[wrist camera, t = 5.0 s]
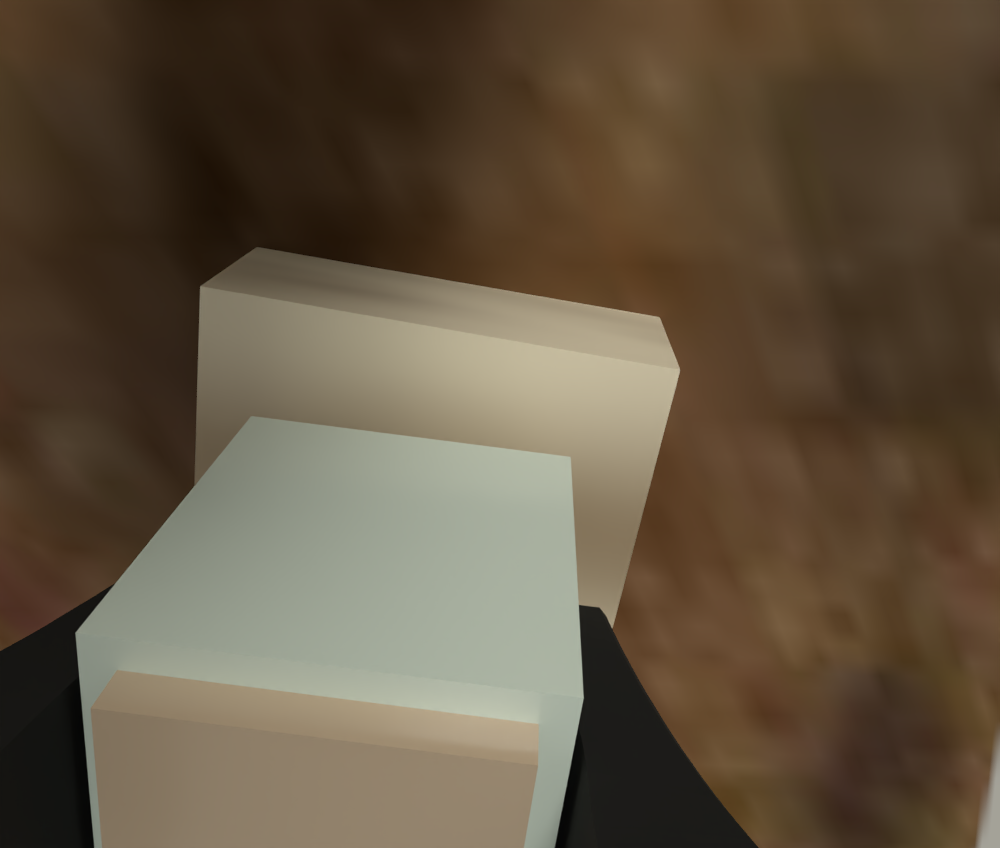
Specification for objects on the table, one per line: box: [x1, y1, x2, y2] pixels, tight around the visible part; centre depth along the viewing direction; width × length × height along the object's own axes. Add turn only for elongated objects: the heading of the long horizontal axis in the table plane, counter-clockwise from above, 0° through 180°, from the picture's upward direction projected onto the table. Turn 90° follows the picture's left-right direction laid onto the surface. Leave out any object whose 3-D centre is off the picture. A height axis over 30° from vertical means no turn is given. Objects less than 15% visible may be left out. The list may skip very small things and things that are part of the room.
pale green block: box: [75, 416, 584, 848], centre depth 11 cm, size 4×4×6 cm
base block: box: [194, 247, 680, 628], centre depth 16 cm, size 7×7×3 cm
